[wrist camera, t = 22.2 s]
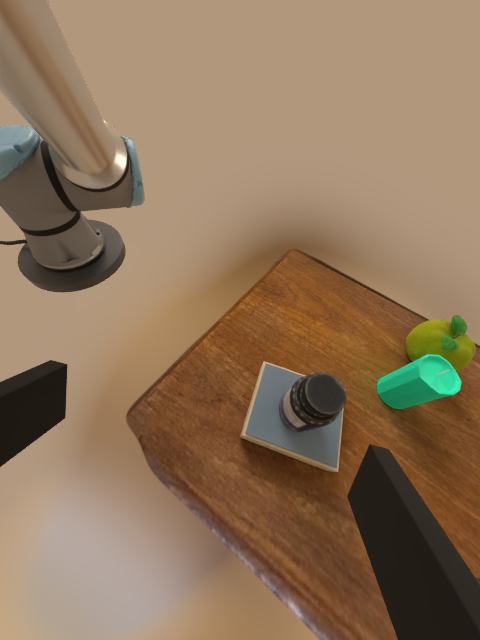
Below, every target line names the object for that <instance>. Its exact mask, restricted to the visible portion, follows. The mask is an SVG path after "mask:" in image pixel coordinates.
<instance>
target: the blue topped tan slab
mask: <svg viewBox="0 0 480 640" xmlns="http://www.w3.org/2000/svg"><path fill="white" fill-rule="evenodd" d="M303 376H305V375H302V374H299V373H297V372H294V371H291V370H288V369H285V368H282V367H279V366H276V365H273V364H270V363H267V362H263V364H262V366H261V369H260V372H259V375H258V379H257V382H256V385H255V389H254V392H253V395H252V399H251V402H250V406H249V409H248V412H247V416H246V419H245V422H244V426H243V429H242V432H241V436H240V438H242V439H245V440H248V441H250V442H253V443H256V444H258V445H261V446H263V447H266V448H269V449H271V450H274V451H276V452H279V453H282V454H284V455H287V456H290V457H292V458H295V459H297V460H300V461H303V462H305V463H308V464H310V465H313V466H316V467H318V468H321V469H324V470H326V471H332V472H338V467H339V456H340V444H341V433H342V422H343V410H344V408H343V409H342V410H341V411H340V412H339V415H338V416H337V418H336V419H335V421H333V422H332V423H331V424H328V425H326V426H323V427H320V428H317V429H314V430H311V431H307V432H297V431H294V430H292V429H290V428H289V427H288V426H286V425H285V423H284V422H283V420H282V418H281V416H280V412H279V404H280V400H281V398H282V396H283V395H284V394H285V393H286V392H287V391H288V390H289V389H290V388H291V387H292V386H293V385H294V383H295V382H296V381H297V380H298V379H300V378H301V377H303Z"/></svg>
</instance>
